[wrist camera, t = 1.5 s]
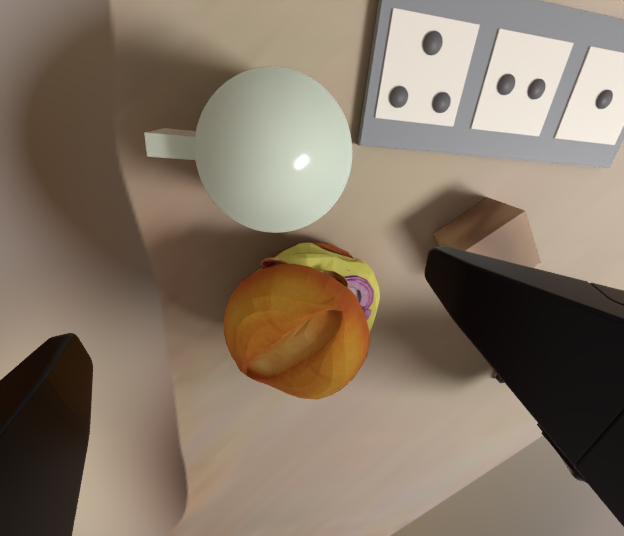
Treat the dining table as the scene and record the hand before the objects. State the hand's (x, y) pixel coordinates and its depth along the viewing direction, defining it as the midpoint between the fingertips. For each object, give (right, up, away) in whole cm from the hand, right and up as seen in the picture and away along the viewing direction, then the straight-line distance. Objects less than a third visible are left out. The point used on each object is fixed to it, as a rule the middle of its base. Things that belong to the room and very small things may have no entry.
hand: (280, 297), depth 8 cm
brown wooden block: (+14, +3, +19) cm, 23 cm away
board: (+15, +13, +14) cm, 24 cm away
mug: (-3, +9, +12) cm, 15 cm away
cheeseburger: (0, -1, +18) cm, 18 cm away
